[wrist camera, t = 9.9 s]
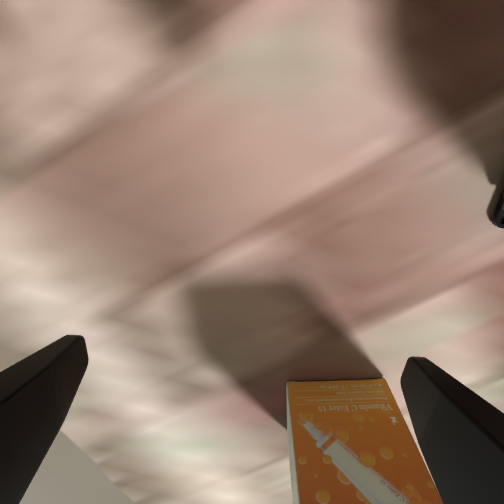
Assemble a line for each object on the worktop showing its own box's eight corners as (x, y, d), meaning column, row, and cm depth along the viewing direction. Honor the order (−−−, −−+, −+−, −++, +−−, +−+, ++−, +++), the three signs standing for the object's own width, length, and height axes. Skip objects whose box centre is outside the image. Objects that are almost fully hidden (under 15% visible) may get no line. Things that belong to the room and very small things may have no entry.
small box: (385, 375, 25) (501, 615, 13) (377, 428, 28) (467, 667, 16) (283, 379, 25) (309, 617, 14) (285, 431, 28) (307, 669, 16)
